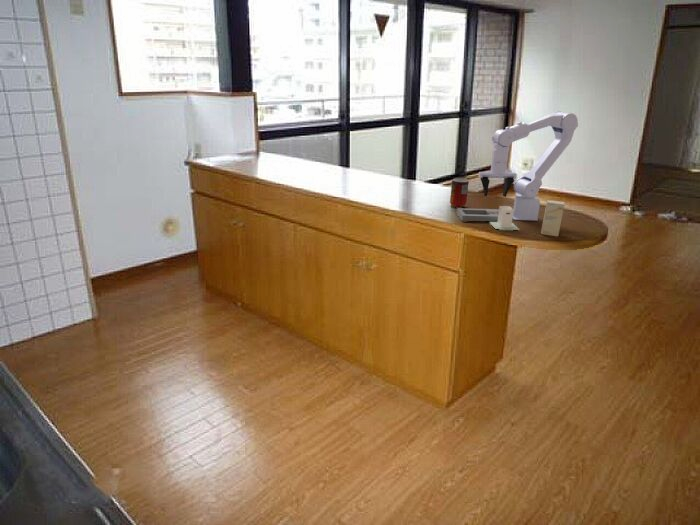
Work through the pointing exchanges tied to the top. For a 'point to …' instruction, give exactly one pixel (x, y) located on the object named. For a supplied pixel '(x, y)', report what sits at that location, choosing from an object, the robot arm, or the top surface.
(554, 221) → the skincare box
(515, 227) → the mat
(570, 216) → the top surface
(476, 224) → the top surface
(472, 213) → the grey tray
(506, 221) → the charger
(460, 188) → the soda can
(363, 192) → the top surface
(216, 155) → the top surface
